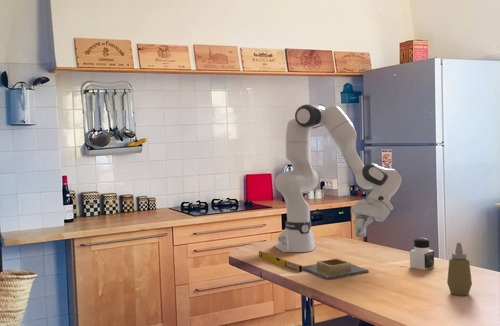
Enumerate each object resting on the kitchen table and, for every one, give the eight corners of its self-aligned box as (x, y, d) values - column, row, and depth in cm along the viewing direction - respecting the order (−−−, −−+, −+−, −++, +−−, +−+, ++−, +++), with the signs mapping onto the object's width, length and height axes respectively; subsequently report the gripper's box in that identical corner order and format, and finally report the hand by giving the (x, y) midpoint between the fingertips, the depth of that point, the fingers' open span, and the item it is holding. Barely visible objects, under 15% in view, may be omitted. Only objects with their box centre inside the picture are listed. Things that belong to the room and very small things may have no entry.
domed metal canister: (352, 235, 247) (352, 215, 246) (361, 234, 249) (361, 214, 249) (359, 237, 243) (359, 216, 242) (368, 236, 245) (368, 215, 244)
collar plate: (300, 268, 237) (300, 260, 237) (339, 262, 246) (339, 254, 246) (327, 279, 219) (327, 270, 219) (368, 272, 228) (368, 263, 228)
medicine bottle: (425, 270, 228) (424, 241, 227) (409, 267, 234) (409, 239, 233) (434, 267, 233) (434, 238, 232) (419, 264, 238) (418, 236, 237)
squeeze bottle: (459, 298, 191) (458, 246, 190) (442, 292, 198) (441, 242, 197) (477, 294, 194) (476, 243, 193) (459, 289, 201) (459, 239, 200)
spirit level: (258, 257, 262) (258, 251, 261) (261, 257, 262) (261, 251, 262) (299, 272, 232) (299, 265, 232) (302, 272, 233) (301, 265, 233)
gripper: (358, 193, 257) (341, 217, 254) (388, 198, 239) (370, 224, 235) (366, 202, 259) (349, 225, 256) (396, 208, 241) (378, 233, 238)
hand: (359, 225), depth 245 cm, fingers closed on domed metal canister, 5 cm apart
